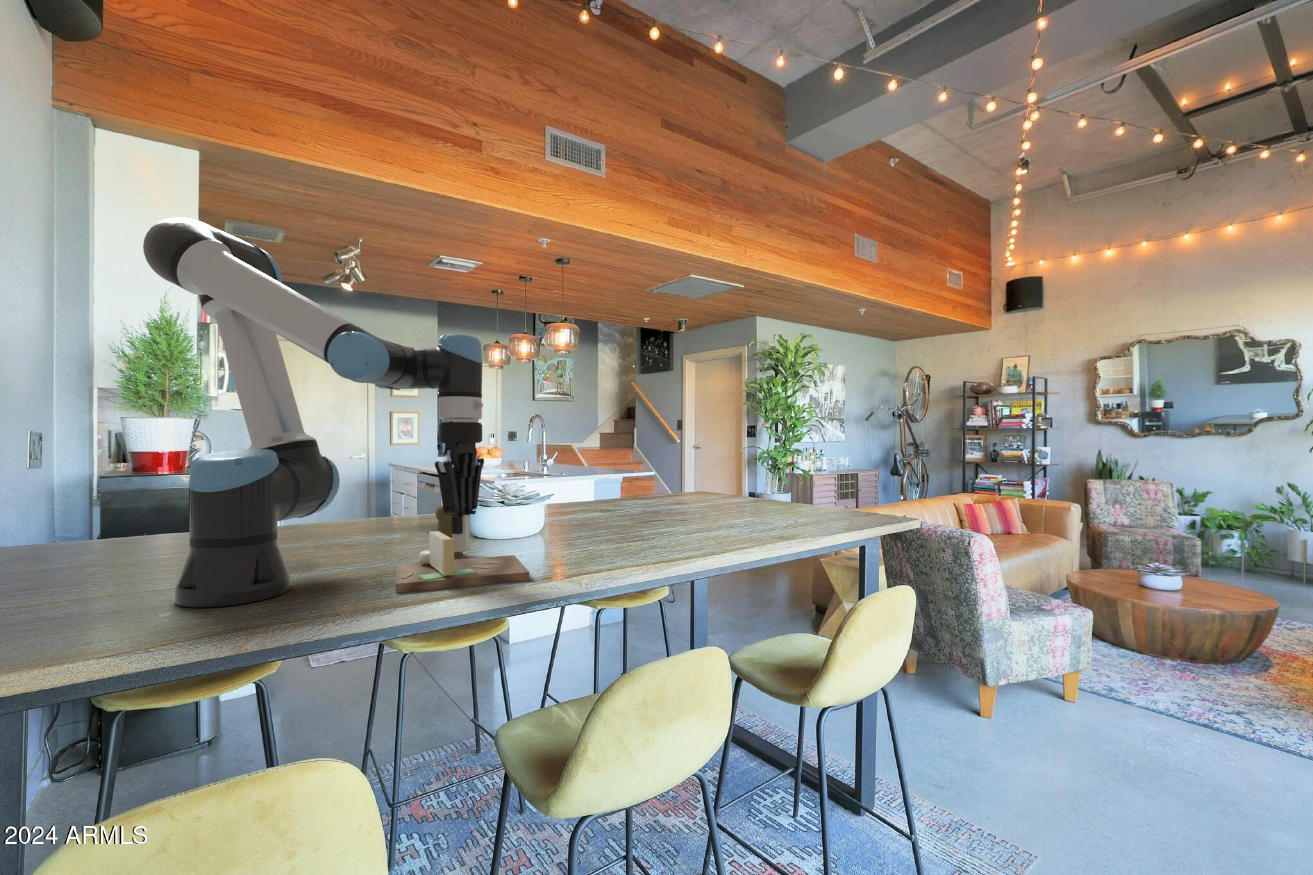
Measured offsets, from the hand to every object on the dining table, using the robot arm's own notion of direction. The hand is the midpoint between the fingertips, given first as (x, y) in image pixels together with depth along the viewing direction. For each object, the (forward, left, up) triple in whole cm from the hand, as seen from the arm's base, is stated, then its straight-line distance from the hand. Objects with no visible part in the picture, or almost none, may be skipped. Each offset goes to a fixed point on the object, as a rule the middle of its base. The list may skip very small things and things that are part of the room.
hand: (461, 550), depth 107 cm
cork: (-1, +23, -5) cm, 23 cm away
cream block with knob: (-4, +2, -3) cm, 5 cm away
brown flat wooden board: (0, +2, -5) cm, 5 cm away
